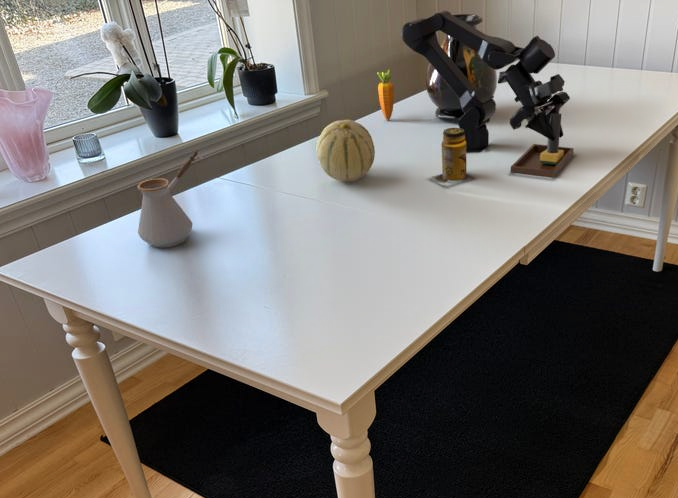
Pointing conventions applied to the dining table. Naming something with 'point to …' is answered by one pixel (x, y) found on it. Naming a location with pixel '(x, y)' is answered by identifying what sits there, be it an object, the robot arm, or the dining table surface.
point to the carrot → (386, 94)
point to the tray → (532, 165)
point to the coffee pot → (163, 212)
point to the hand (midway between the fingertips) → (558, 138)
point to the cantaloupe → (345, 150)
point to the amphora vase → (469, 67)
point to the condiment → (452, 156)
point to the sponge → (553, 142)
